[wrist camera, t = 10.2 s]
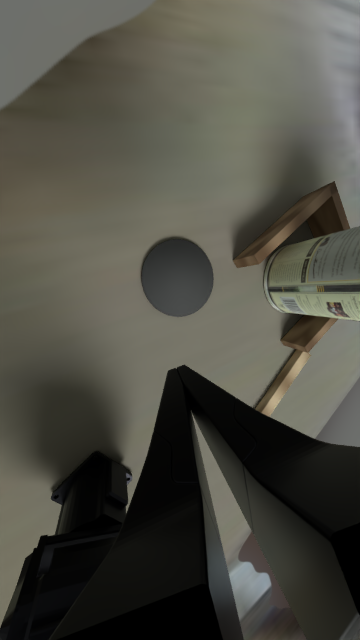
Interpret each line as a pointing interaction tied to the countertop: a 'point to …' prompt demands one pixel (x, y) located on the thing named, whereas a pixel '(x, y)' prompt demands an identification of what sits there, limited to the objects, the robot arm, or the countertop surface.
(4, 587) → the countertop surface
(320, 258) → the coffee can
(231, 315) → the countertop surface
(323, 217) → the walnut cubby
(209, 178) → the countertop surface
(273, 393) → the oak stirring stick
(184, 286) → the mat
